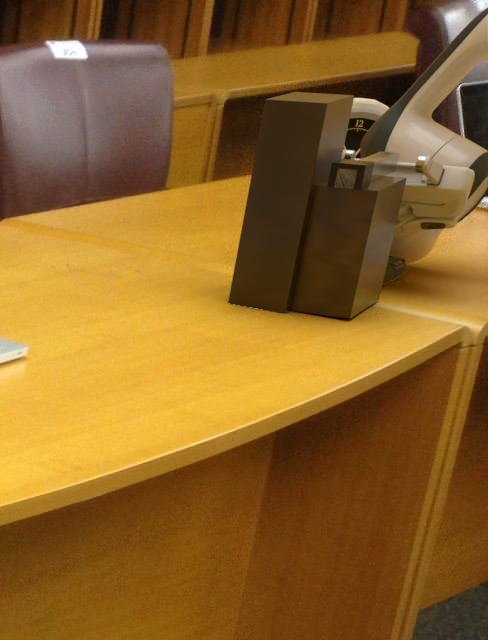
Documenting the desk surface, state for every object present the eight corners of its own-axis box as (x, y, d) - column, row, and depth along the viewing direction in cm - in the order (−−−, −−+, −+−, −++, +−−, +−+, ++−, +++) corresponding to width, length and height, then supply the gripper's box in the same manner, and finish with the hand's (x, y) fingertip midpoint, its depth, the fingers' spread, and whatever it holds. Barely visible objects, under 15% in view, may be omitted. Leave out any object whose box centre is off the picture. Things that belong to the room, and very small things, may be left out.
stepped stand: (378, 300, 207) (425, 96, 196) (345, 321, 196) (392, 107, 185) (265, 285, 216) (303, 89, 204) (227, 305, 205) (265, 99, 193)
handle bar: (402, 172, 205) (407, 148, 203) (360, 190, 191) (365, 165, 190) (370, 169, 207) (375, 146, 206) (326, 187, 193) (332, 162, 192)
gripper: (325, 171, 220) (310, 129, 209) (482, 185, 209) (475, 141, 197) (310, 213, 220) (295, 173, 209) (467, 229, 209) (459, 188, 197)
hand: (384, 157), depth 203 cm, fingers open, 8 cm apart
